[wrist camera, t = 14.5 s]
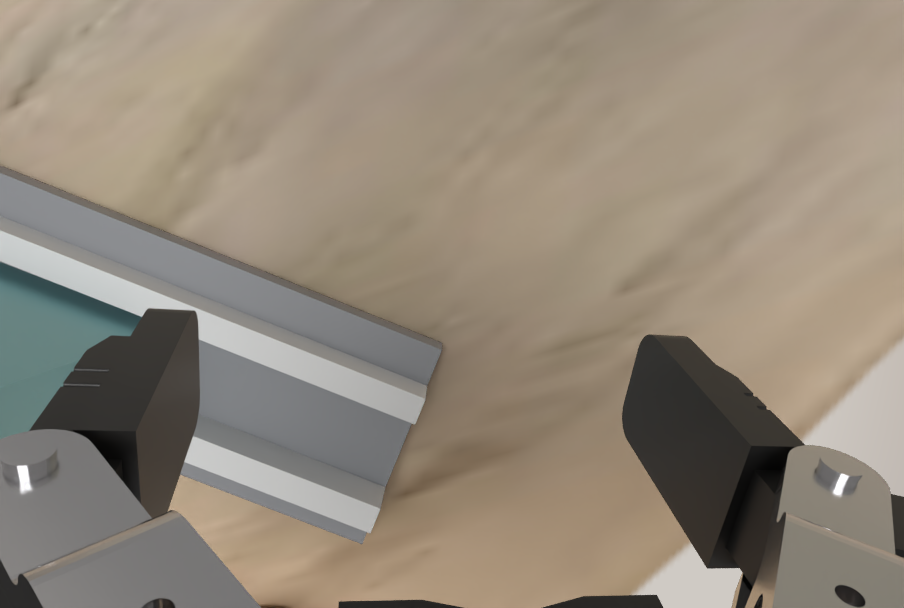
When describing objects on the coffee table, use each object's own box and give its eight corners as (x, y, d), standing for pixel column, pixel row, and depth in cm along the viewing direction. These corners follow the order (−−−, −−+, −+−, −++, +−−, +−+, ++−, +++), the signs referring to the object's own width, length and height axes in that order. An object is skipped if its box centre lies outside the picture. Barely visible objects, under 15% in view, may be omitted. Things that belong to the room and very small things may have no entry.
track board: (-32, 152, 32) (-109, 140, 28) (441, 343, 33) (441, 360, 29) (-97, 347, 33) (-181, 365, 29) (366, 525, 34) (355, 570, 30)
